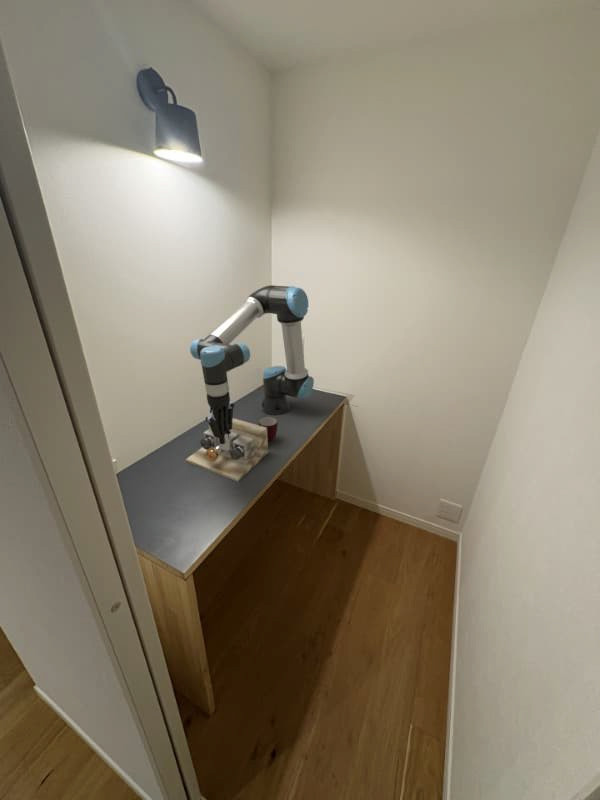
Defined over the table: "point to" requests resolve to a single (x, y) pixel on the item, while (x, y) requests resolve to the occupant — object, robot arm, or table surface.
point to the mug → (269, 427)
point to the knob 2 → (237, 452)
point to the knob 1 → (207, 442)
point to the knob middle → (214, 453)
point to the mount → (240, 435)
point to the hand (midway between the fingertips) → (225, 448)
